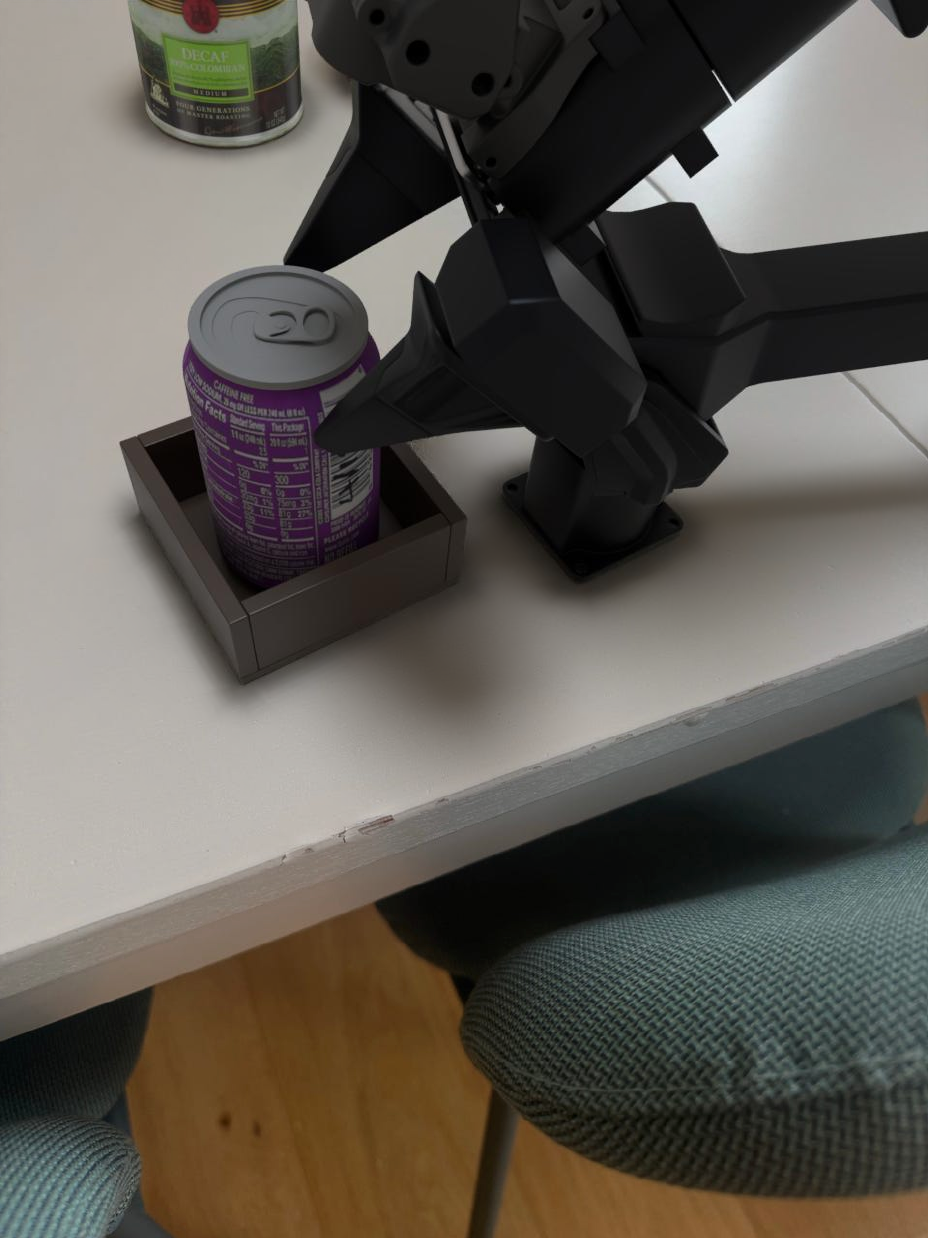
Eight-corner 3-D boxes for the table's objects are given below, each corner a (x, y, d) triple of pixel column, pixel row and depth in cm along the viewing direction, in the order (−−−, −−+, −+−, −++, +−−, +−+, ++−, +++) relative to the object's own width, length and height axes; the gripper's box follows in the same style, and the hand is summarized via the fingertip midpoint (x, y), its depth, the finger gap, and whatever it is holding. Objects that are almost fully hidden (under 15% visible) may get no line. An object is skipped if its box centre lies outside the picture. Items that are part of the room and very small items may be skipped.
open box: (242, 685, 39) (229, 624, 35) (139, 511, 43) (118, 441, 40) (459, 582, 43) (468, 517, 39) (344, 431, 47) (341, 361, 44)
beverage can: (374, 477, 45) (376, 256, 35) (383, 599, 41) (388, 391, 31) (221, 480, 44) (179, 255, 34) (215, 606, 40) (166, 393, 30)
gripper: (428, -369, 26) (101, 57, 33) (634, -74, 16) (106, 443, 23) (631, -44, 34) (333, 243, 41) (852, 286, 24) (410, 590, 31)
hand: (306, 352), depth 34 cm, fingers open, 9 cm apart
